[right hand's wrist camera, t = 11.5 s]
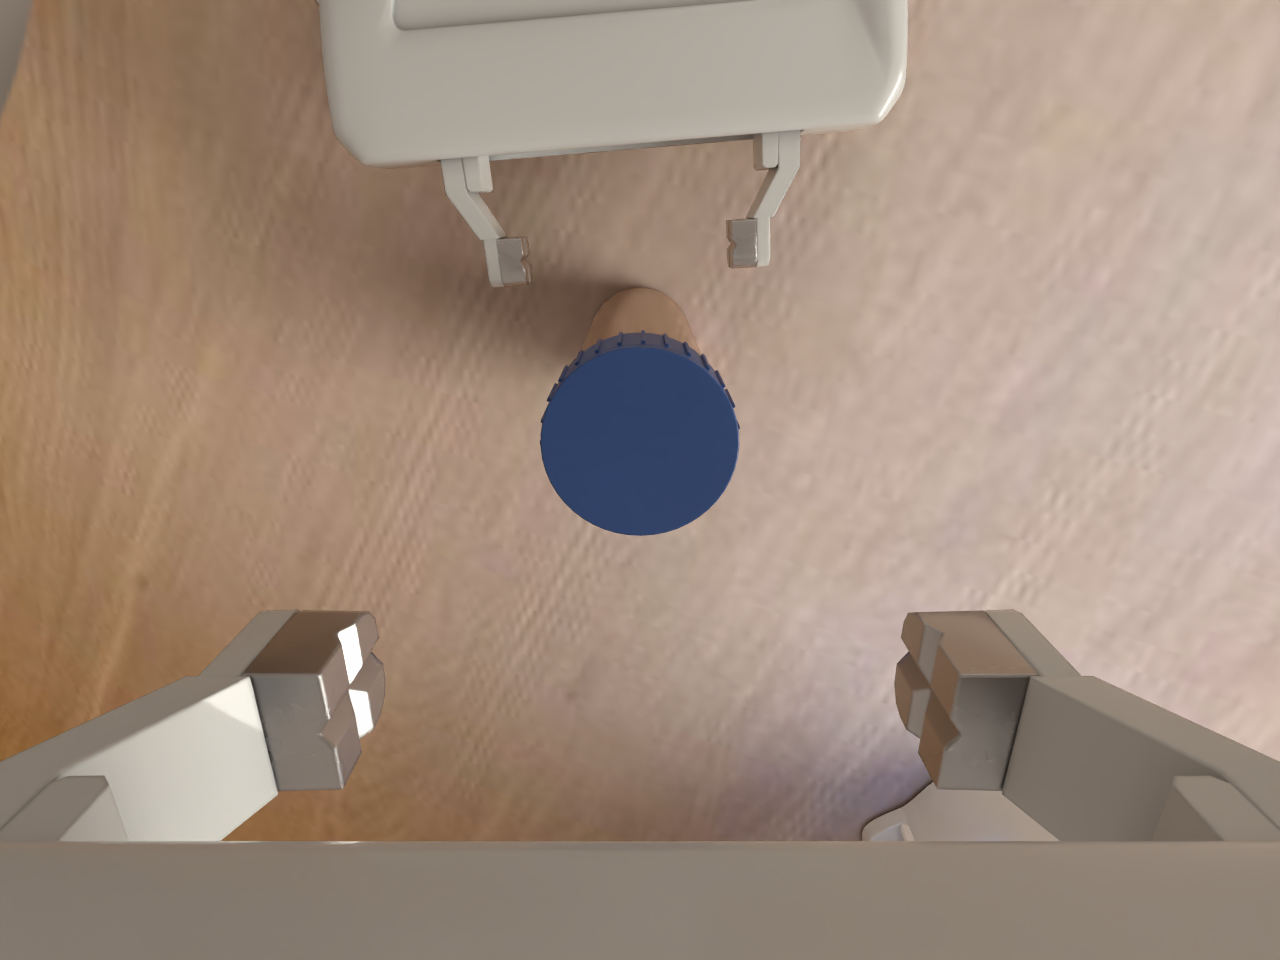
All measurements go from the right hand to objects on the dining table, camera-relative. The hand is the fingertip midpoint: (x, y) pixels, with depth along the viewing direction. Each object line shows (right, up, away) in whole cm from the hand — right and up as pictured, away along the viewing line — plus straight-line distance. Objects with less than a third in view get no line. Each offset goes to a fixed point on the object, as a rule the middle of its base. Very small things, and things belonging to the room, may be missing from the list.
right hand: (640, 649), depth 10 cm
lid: (0, +4, +9) cm, 10 cm away
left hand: (0, +11, +18) cm, 21 cm away
